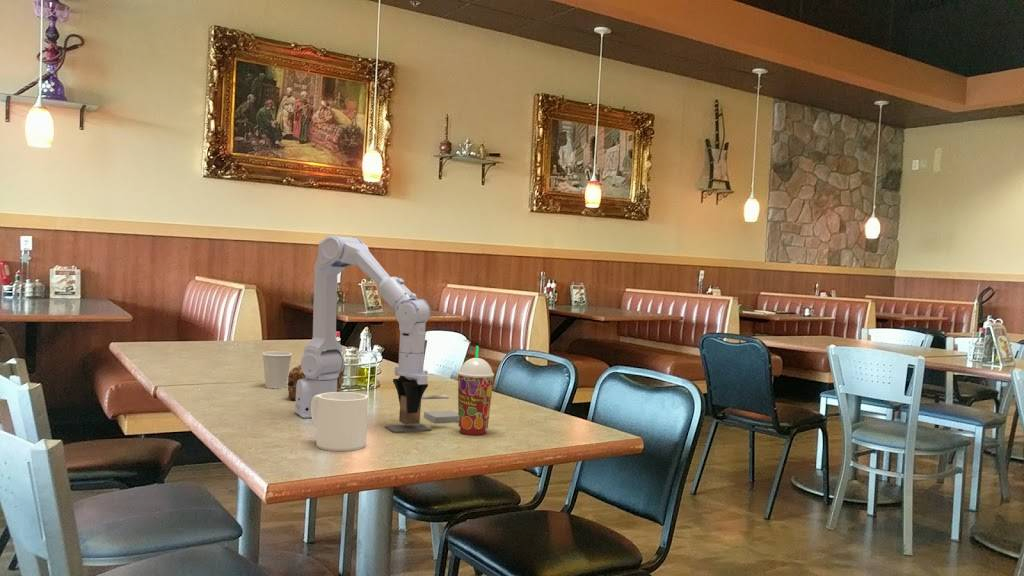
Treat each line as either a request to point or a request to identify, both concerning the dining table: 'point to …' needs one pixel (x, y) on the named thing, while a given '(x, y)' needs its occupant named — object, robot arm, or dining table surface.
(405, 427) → the mat
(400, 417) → the brown white angled block
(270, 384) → the dixie cup
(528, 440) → the dining table surface
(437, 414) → the tile
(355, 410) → the mug
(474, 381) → the smoothie
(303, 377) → the bread
